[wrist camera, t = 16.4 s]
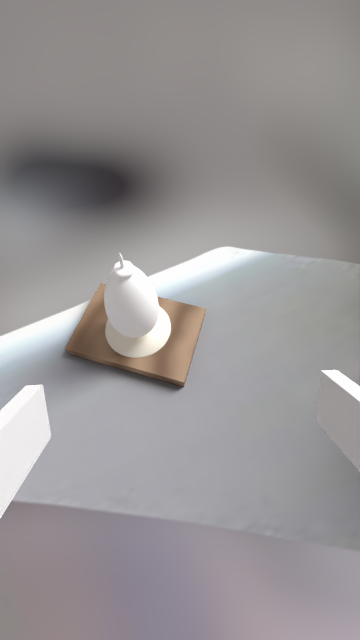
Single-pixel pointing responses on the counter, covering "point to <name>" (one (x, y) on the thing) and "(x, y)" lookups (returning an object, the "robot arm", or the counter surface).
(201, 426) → the counter surface
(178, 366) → the walnut board
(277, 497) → the counter surface
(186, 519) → the counter surface
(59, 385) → the counter surface
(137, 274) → the white pear with stem
